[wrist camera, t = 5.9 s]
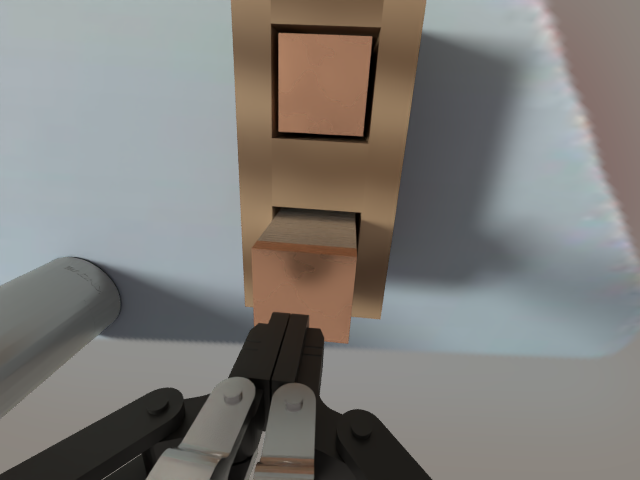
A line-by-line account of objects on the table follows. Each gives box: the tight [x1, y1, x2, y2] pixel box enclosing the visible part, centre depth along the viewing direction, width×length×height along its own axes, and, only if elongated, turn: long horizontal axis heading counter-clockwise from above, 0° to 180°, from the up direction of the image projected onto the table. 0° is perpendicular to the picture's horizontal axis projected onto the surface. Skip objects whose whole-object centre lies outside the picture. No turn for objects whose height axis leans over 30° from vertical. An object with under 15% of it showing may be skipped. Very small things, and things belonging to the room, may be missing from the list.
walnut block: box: [231, 0, 426, 319], centre depth 23 cm, size 20×10×9 cm, turn 177°
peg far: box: [279, 33, 372, 136], centre depth 22 cm, size 5×5×9 cm
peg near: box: [251, 207, 357, 344], centre depth 20 cm, size 5×5×9 cm
